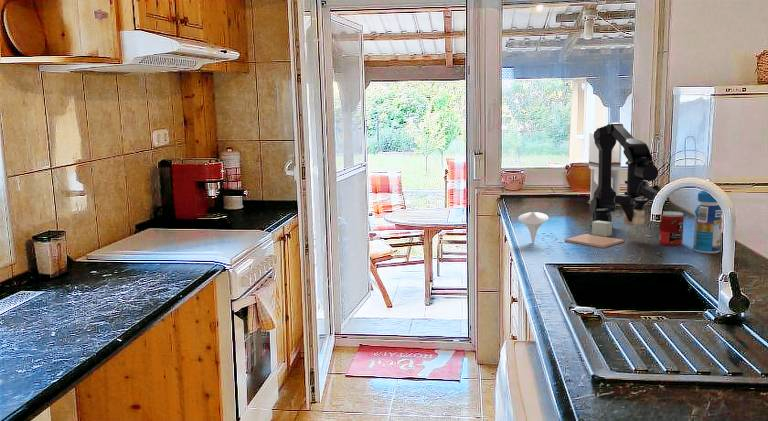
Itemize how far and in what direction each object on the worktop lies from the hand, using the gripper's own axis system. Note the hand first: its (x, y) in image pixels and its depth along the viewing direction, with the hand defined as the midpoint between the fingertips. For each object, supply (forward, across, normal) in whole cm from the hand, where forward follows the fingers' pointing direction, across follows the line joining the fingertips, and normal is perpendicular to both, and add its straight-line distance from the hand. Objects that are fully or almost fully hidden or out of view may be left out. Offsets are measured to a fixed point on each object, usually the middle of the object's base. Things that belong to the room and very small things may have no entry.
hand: (634, 220), depth 243 cm
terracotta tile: (+7, -13, +8) cm, 17 cm away
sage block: (+7, 0, +13) cm, 15 cm away
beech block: (+1, 0, 0) cm, 1 cm away
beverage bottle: (+7, -1, -27) cm, 28 cm away
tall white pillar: (+7, +60, +50) cm, 79 cm away
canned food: (+7, +2, -13) cm, 15 cm away
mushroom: (+7, -29, +23) cm, 38 cm away
